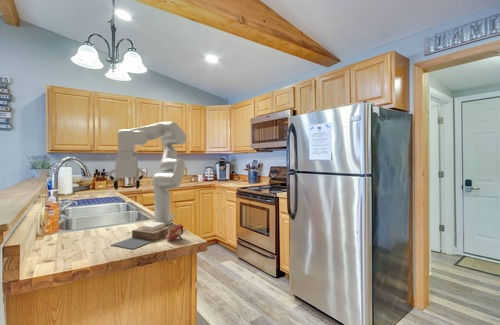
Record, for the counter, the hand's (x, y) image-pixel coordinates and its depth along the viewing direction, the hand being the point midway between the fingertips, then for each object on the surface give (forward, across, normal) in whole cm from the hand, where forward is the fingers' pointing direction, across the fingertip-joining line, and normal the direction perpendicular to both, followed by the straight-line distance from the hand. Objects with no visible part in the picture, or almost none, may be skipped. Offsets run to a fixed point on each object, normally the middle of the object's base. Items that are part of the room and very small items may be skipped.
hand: (127, 188), depth 129 cm
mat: (+25, -4, +9) cm, 27 cm away
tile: (+21, -12, -2) cm, 25 cm away
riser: (+25, -11, -1) cm, 28 cm away
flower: (+26, -23, +8) cm, 35 cm away
